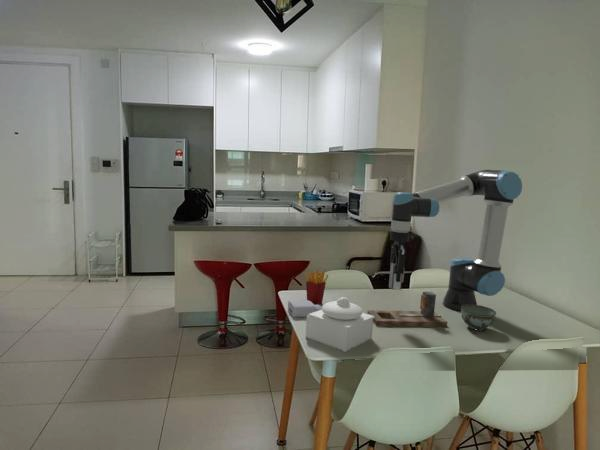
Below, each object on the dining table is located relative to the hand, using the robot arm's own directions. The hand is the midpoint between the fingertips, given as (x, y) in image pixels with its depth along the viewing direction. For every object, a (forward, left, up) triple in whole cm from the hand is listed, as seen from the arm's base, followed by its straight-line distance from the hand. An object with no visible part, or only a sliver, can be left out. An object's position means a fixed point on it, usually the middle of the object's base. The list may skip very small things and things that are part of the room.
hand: (394, 287), depth 188 cm
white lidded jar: (+26, +17, -15) cm, 35 cm away
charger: (+34, -10, -15) cm, 38 cm away
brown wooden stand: (-7, -2, -15) cm, 17 cm away
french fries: (+28, -25, -15) cm, 40 cm away
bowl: (-34, +6, -15) cm, 38 cm away
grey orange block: (0, 0, 0) cm, 0 cm away
